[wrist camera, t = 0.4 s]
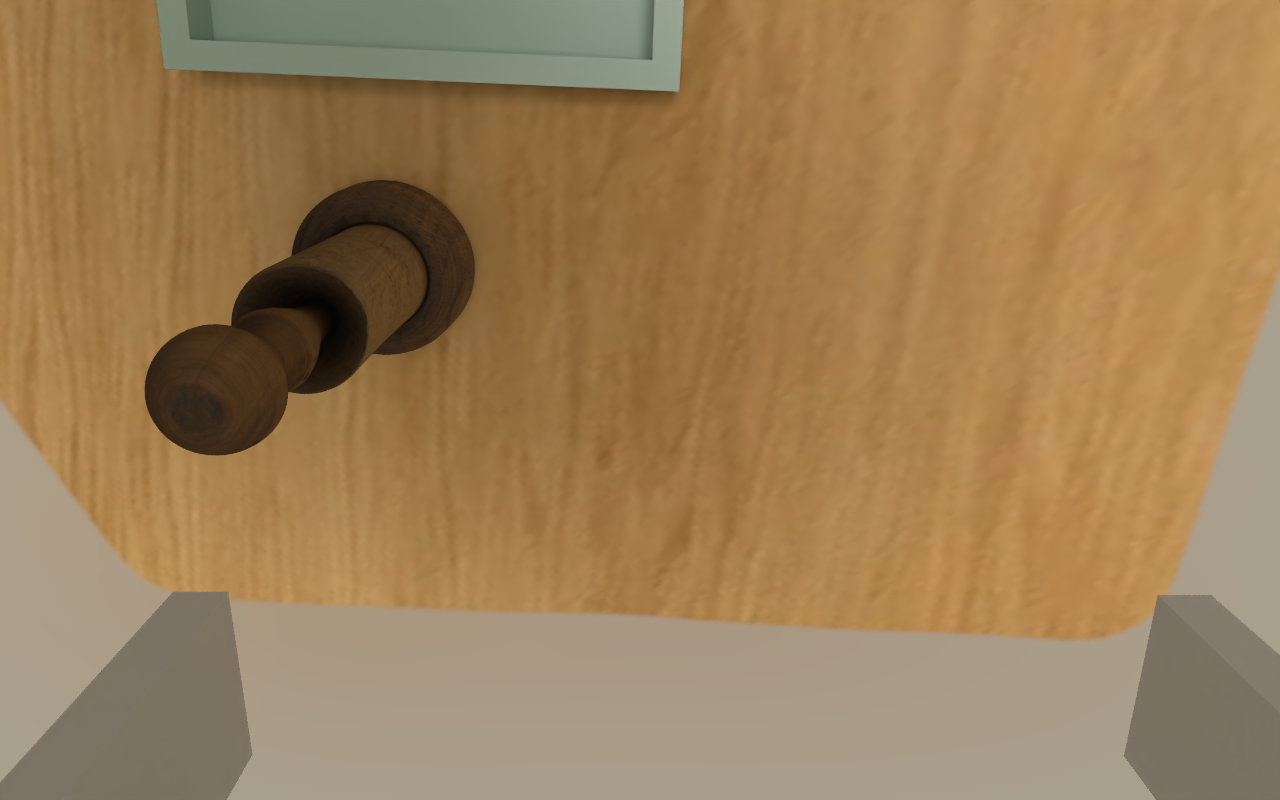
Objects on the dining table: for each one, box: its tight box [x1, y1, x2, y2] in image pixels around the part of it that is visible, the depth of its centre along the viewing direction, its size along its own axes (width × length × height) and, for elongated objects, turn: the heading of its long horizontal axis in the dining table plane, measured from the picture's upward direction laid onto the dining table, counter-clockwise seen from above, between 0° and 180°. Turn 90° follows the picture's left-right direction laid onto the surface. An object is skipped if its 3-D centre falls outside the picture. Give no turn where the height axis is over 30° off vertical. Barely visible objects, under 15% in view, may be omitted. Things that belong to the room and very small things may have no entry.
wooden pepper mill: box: [145, 181, 474, 455], centre depth 29 cm, size 7×6×18 cm
